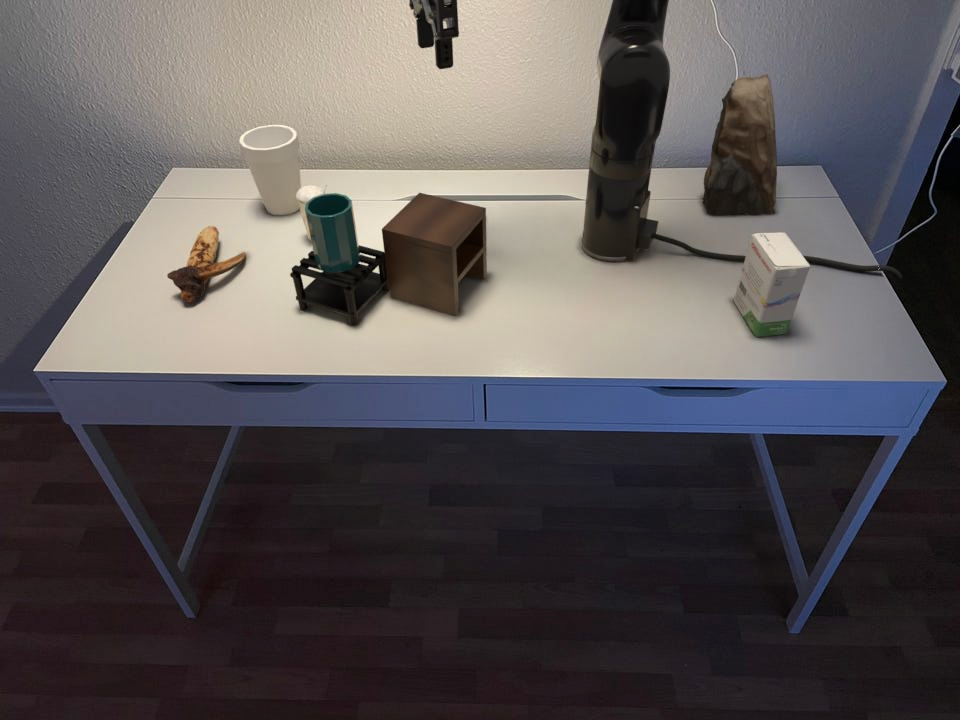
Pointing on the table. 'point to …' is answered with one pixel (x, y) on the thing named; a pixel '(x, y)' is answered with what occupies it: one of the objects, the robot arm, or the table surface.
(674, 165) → the table surface
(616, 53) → the robot arm
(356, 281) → the rack
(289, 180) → the foam cup
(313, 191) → the milkshake
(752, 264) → the ink box
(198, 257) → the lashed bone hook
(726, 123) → the tall brown rock
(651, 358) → the table surface
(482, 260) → the shelf
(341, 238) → the cup
